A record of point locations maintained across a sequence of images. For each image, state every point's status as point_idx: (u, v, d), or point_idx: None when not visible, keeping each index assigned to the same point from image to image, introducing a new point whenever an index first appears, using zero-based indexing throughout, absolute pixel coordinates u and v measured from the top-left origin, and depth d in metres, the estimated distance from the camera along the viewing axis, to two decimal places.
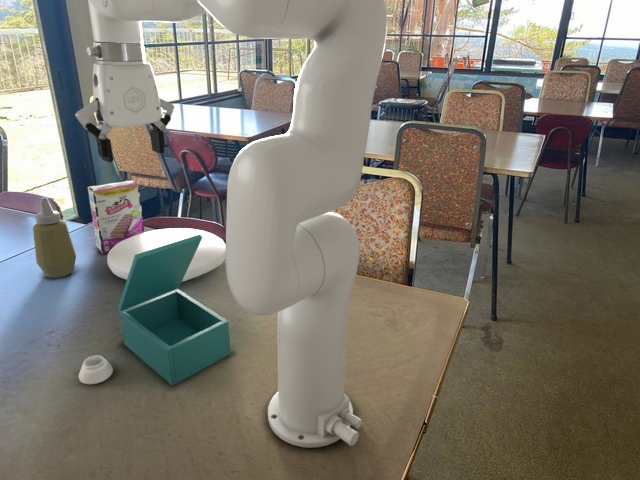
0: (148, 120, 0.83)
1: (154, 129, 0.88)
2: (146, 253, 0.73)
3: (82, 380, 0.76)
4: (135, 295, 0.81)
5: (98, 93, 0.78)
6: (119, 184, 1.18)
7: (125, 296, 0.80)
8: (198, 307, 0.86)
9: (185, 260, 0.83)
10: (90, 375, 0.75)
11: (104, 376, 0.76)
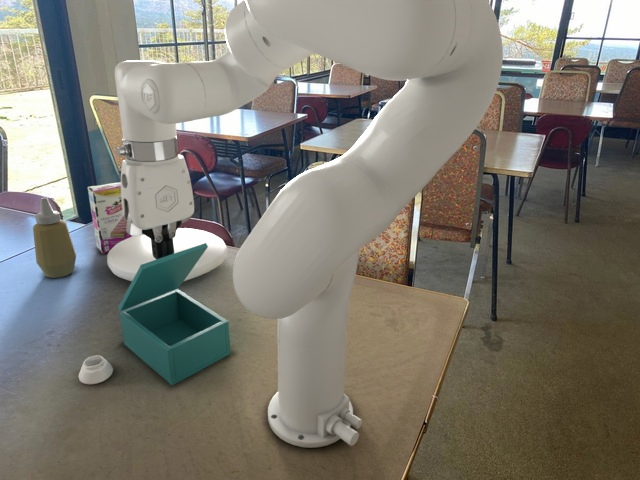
0: (180, 217, 0.75)
1: (162, 235, 0.77)
2: (152, 263, 0.73)
3: (82, 380, 0.76)
4: (136, 297, 0.81)
5: (127, 195, 0.70)
6: (119, 184, 1.18)
7: (127, 299, 0.79)
8: (198, 307, 0.86)
9: (188, 266, 0.82)
10: (90, 375, 0.75)
11: (104, 376, 0.76)
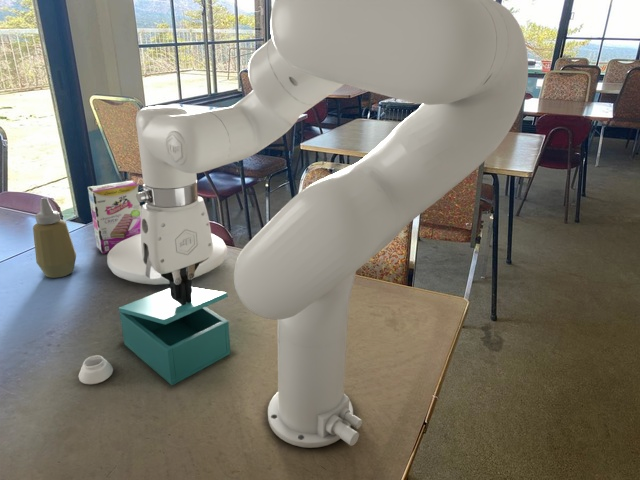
0: (199, 259, 0.75)
1: (181, 276, 0.77)
2: (174, 318, 0.73)
3: (82, 380, 0.76)
4: None
5: (147, 240, 0.69)
6: (119, 184, 1.18)
7: None
8: None
9: None
10: (90, 375, 0.75)
11: (104, 376, 0.76)
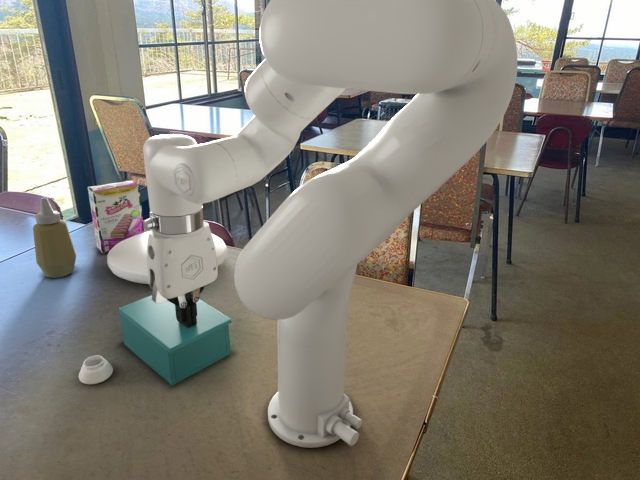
0: (205, 283, 0.76)
1: (186, 300, 0.78)
2: (179, 346, 0.74)
3: (82, 380, 0.76)
4: None
5: (154, 266, 0.70)
6: (119, 184, 1.18)
7: (134, 323, 0.80)
8: None
9: None
10: (90, 375, 0.75)
11: (104, 376, 0.76)
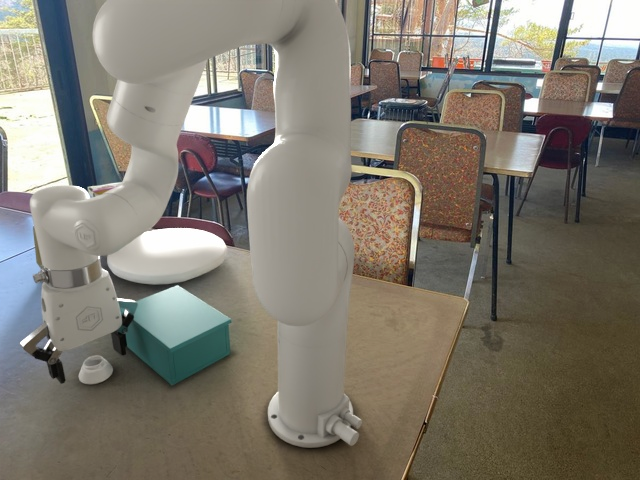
0: (106, 333, 0.74)
1: (115, 331, 0.79)
2: (179, 346, 0.74)
3: (82, 380, 0.76)
4: None
5: (46, 319, 0.69)
6: (119, 184, 1.18)
7: (134, 323, 0.80)
8: None
9: None
10: (90, 375, 0.75)
11: (104, 376, 0.76)
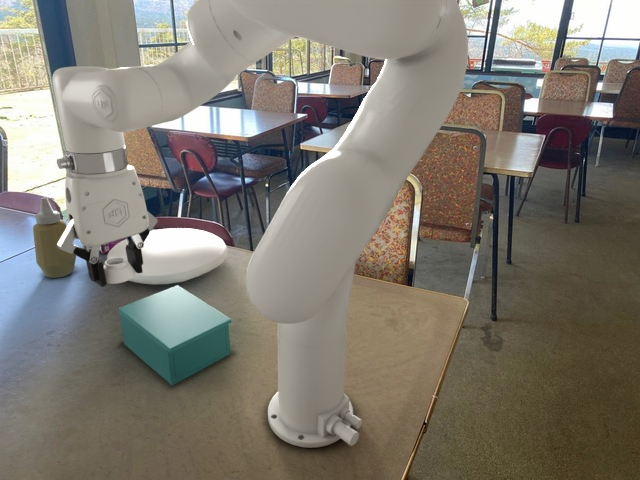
0: (133, 232, 0.71)
1: (130, 246, 0.74)
2: (179, 346, 0.74)
3: None
4: None
5: (72, 210, 0.65)
6: None
7: (134, 323, 0.80)
8: None
9: None
10: (112, 274, 0.71)
11: (127, 276, 0.72)
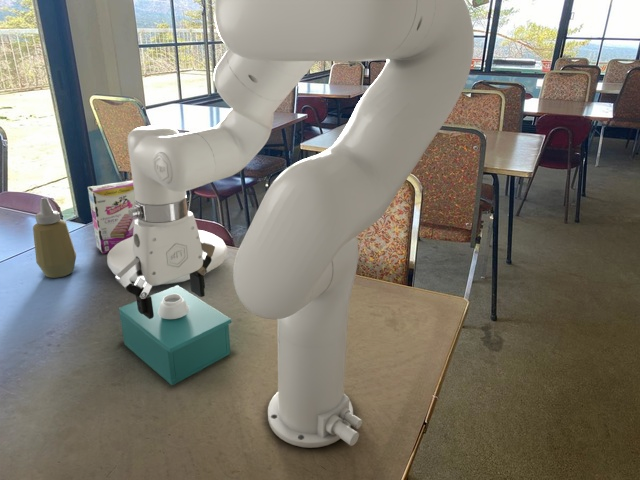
0: (190, 271, 0.78)
1: (194, 272, 0.83)
2: (179, 346, 0.74)
3: (162, 315, 0.79)
4: None
5: (140, 253, 0.73)
6: (119, 184, 1.18)
7: (134, 323, 0.80)
8: None
9: None
10: (170, 311, 0.79)
11: (183, 312, 0.80)
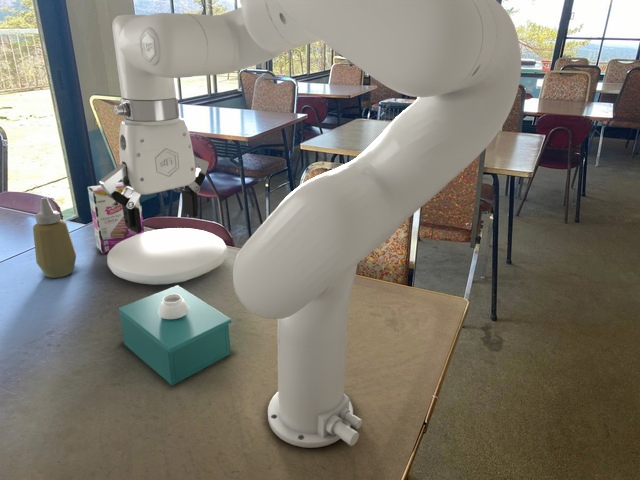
0: (181, 183, 0.72)
1: (186, 190, 0.77)
2: (179, 346, 0.74)
3: (162, 315, 0.79)
4: None
5: (126, 157, 0.67)
6: (119, 184, 1.18)
7: (134, 323, 0.80)
8: None
9: None
10: (170, 311, 0.79)
11: (183, 312, 0.80)
